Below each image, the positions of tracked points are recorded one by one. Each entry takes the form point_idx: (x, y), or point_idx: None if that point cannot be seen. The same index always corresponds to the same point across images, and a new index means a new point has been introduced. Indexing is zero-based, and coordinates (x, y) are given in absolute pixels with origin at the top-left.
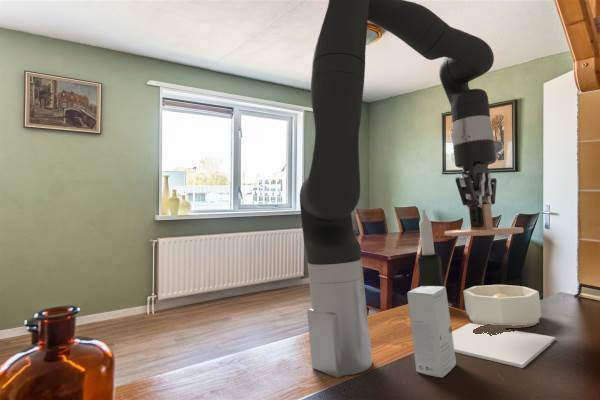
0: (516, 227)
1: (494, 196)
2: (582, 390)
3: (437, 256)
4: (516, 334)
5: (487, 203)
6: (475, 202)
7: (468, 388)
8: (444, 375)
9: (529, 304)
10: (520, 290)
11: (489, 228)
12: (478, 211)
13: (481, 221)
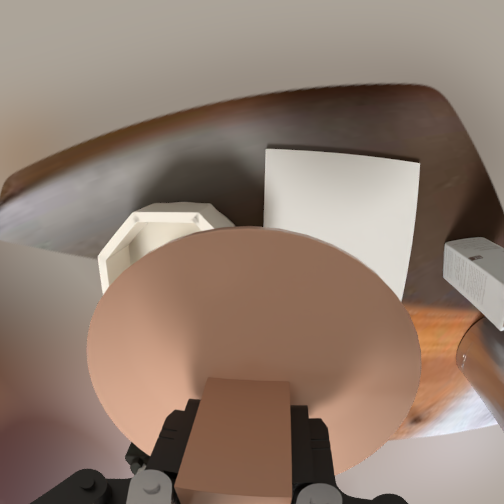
0: (107, 297)
1: (55, 500)
2: (437, 95)
3: (147, 458)
4: (286, 209)
5: (174, 500)
6: (398, 502)
7: (489, 203)
8: (479, 237)
9: (202, 210)
10: (110, 261)
11: (251, 383)
12: (320, 472)
13: (309, 423)
